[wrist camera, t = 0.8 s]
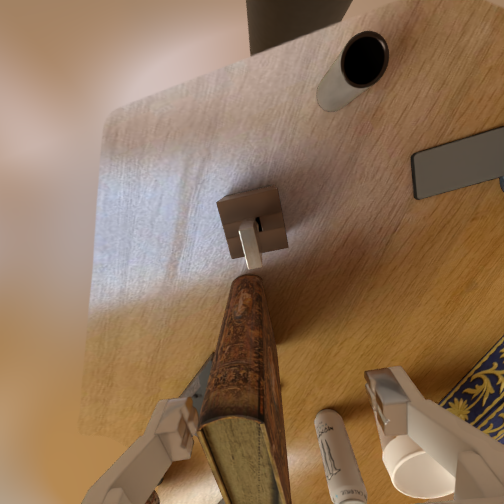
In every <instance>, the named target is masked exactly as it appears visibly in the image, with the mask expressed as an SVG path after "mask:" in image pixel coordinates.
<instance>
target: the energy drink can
mask: <svg viewBox="0 0 504 504" xmlns="http://www.w3.org/2000/svg"><path fill="white" fill-rule="evenodd" d="M315 428H316V432H317V437H318V441H319V446H320V451H321V455H322V460H323V464H324V469H325V474H326V478H327V483H328V488H329V492H330V497H331V500H332V501H333V503H334V504H367V492H366V489H365V486H364V483H363V480H362V477H361V474H360V471H359V468H358V464H357V461H356V458H355V455H354V452H353V449H352V446H351V443H350V440H349V437H348V434H347V431H346V428H345V425H344V422H343V419H342V417H341V416H340V415H339V414H338V413H337V412H336V411H334V410H331V409H326V410H322V411H320V412H319V413H318V414H317V416H316V419H315Z"/></svg>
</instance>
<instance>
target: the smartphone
mask: <svg viewBox="0 0 504 504" xmlns="http://www.w3.org/2000/svg"><path fill="white" fill-rule="evenodd" d="M411 168H412V179H413V191H414V198H415V199H417V200H420V199H424V198H427V197H431V196H434V195H438V194H441V193H445V192H449V191H452V190H456V189H459V188H463V187H466V186H470V185H474V184H478V183H481V182H484V181H489V180H492V179H496V178H500V177H502V176H504V126H502V127H499V128H495V129H492V130H489V131H486V132H482V133H479V134H476V135H473V136H469V137H466V138H463V139H459V140H456V141H453V142H450V143H446V144H443V145H440V146H437V147H433V148H430V149H427V150H424V151H420V152H417V153H414V154H413V155H412V156H411Z"/></svg>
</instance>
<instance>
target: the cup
mask: <svg viewBox="0 0 504 504" xmlns="http://www.w3.org/2000/svg"><path fill="white" fill-rule="evenodd" d="M374 414H375V419H376V423H377V428H378V432H379V437H380V441H381V446H382V450H383V462H384V464H385V467H386V469H387V471H388V473H389V475H390V477H391V480H392V482H393V485H394V486H395V487H396V489H397V490H398V491H400V492H401V493H403V494H405V495H407V496H411V497H414V498H423V499H427V498H437V497H442V496H446V495H449V494H451V493H454V490H455V480H456V478H455V477H453V476H452V475H451V474H450V473H449V472H448V471H447V470H446V469H444V468H443V467H442V466H441V465H440V464H439V463H438V462H437V461H436V460H434V459H433V458H432V457H431V456H430V455H429V454H428V453H427V452H425V451H424V450H423V449H422V448H421V447H420V446H419V445H418V444H416V443H415V442H414V441H413V440H412V439H411V438H410V437H409V436H408V435H396V436H385V434H384V432H383V430H382V428H381V426H380V424H379V422H378V420H377V412H376V411H374Z"/></svg>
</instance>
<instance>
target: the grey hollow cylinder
mask: <svg viewBox="0 0 504 504" xmlns="http://www.w3.org/2000/svg"><path fill="white" fill-rule="evenodd" d="M388 62H389V49H388V45H387V43H386V41H385V39H384V38H383V37H382V36H381V35H380V34H378V33H376V32H373V31H364V32H361V33H358V34H357V35H355V36H354V37H352V38H351V39H350V40H349V42H348V43H347V44H346V46H345V47H344V48H343V50H342V51H341V53H340V54H339V56H338V57H337V59H336V60H335V61H334V63H333V64H332V66H331V67H330V69H329V70H328V71H327V73H326V74H325V76H324V77H323V79H322V80H321V82H320V84H319V86H318V88H317V101H318V104H319V105H320V107H321V108H322V109H323V110H325V111H328V112H335V111H338V110H340V109H342V108H343V107H344V106H346V105H347V104H348V103H350V102H351V101H352V100H354V99H355V98H357V97H358V96H359V95H361V94H362V93H363V92H365V91H366V90H367V89H369V88H370V87H371V86H373V85H374V84H375V83H377V82H378V81H379V80H380V79H381V77H382V76H383V74H384V73H385V71H386V68H387V66H388Z"/></svg>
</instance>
